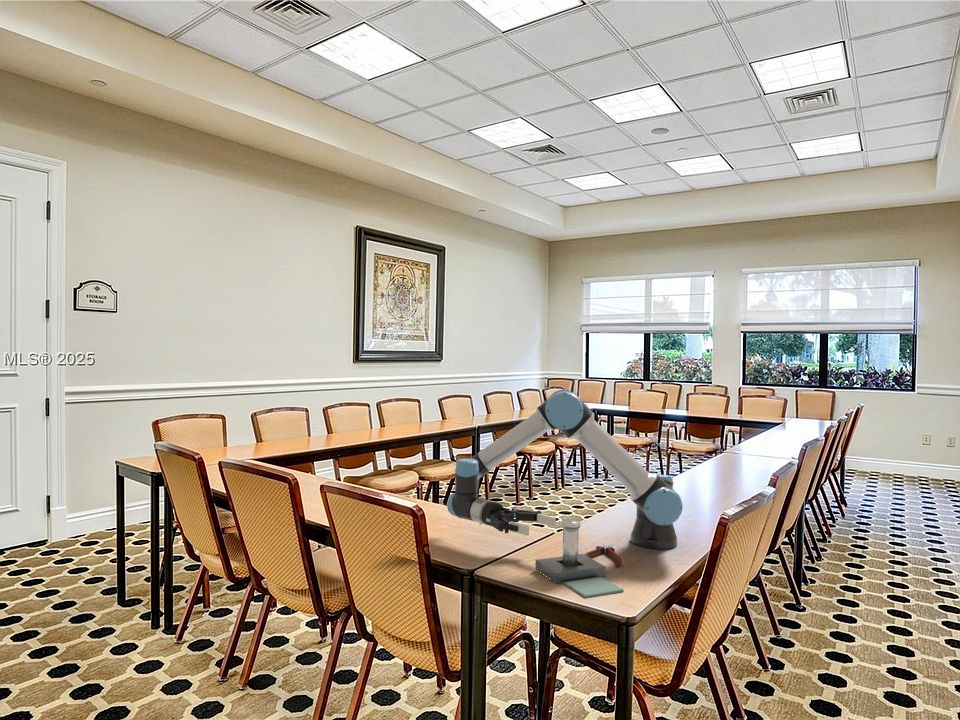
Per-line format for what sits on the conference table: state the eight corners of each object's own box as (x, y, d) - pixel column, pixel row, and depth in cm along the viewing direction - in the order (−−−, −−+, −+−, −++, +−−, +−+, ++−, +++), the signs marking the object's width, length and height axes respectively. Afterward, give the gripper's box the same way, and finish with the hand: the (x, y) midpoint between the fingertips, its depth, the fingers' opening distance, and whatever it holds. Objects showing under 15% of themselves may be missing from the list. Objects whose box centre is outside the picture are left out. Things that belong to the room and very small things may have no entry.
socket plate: (582, 563, 186) (582, 553, 186) (605, 576, 175) (605, 566, 175) (535, 570, 180) (535, 559, 180) (556, 584, 169) (556, 573, 169)
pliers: (625, 549, 202) (625, 541, 202) (620, 569, 183) (620, 560, 183) (590, 546, 206) (590, 538, 206) (581, 565, 186) (581, 556, 186)
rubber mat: (601, 579, 173) (601, 576, 173) (623, 591, 164) (623, 589, 164) (564, 584, 168) (564, 582, 168) (585, 597, 159) (585, 595, 159)
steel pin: (572, 569, 181) (573, 518, 181) (582, 575, 176) (583, 522, 176) (557, 571, 179) (558, 519, 179) (566, 577, 174) (568, 524, 174)
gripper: (511, 517, 207) (564, 531, 193) (460, 531, 188) (515, 547, 174) (512, 495, 207) (565, 507, 193) (461, 507, 188) (516, 521, 174)
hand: (542, 526), depth 184 cm, fingers open, 13 cm apart
